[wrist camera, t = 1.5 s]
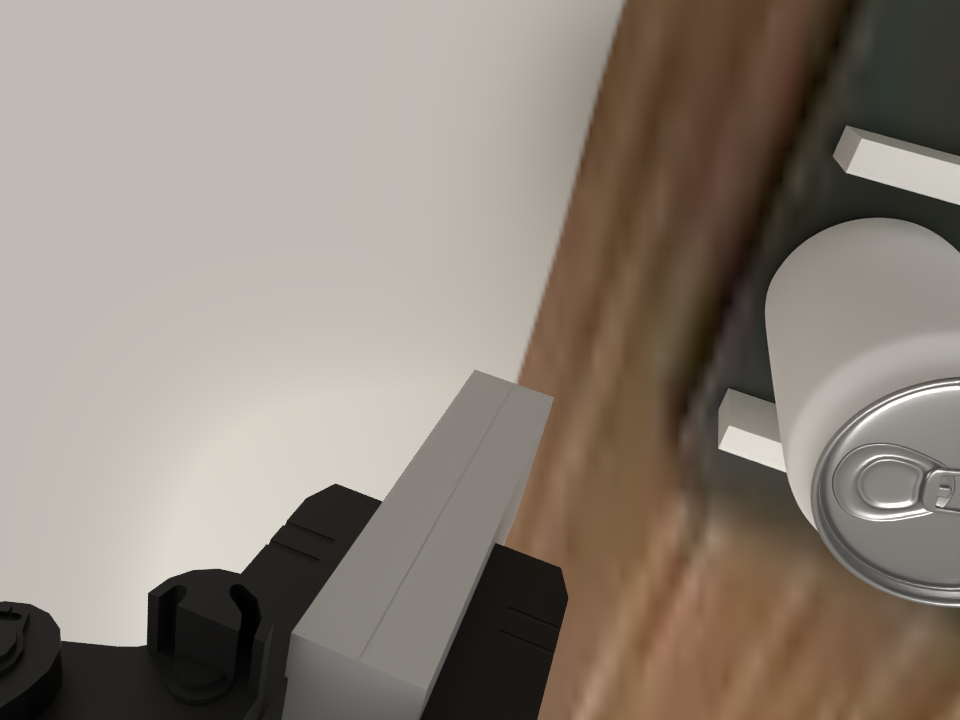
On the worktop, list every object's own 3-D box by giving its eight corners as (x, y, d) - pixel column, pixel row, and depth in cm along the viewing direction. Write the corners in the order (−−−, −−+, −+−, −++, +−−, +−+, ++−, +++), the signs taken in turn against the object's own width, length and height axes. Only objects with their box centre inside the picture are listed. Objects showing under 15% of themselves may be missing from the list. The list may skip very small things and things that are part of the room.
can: (773, 212, 25) (809, 347, 15) (990, 214, 24) (1203, 370, 13) (754, 382, 28) (774, 598, 18) (948, 397, 26) (1099, 647, 16)
